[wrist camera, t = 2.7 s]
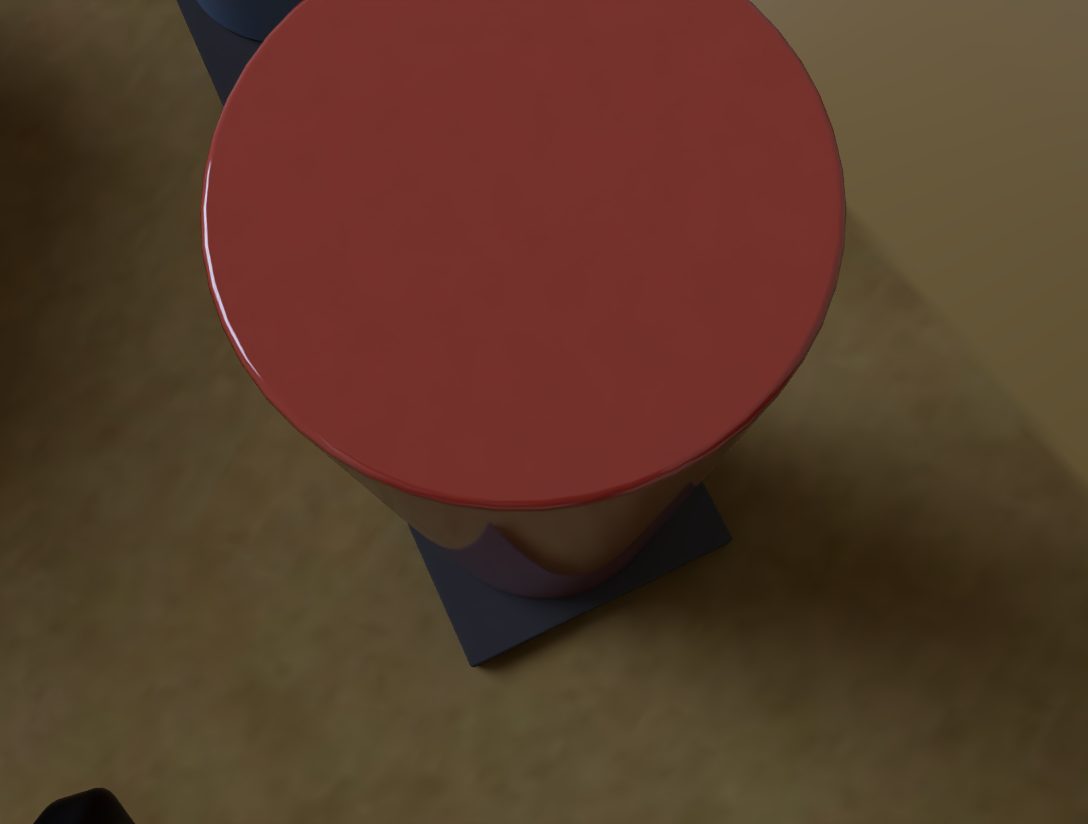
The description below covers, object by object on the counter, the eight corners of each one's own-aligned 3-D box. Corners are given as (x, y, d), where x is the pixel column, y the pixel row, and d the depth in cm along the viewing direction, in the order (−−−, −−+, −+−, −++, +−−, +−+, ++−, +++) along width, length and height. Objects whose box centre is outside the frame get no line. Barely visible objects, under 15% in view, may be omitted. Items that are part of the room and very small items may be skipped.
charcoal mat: (729, 542, 19) (733, 539, 18) (473, 667, 18) (470, 668, 18) (359, -164, 23) (356, -177, 22) (143, -78, 22) (136, -91, 22)
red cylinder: (714, 486, 18) (988, 211, 7) (531, 652, 18) (485, 661, 6) (553, 313, 19) (550, -187, 8) (372, 465, 19) (68, 162, 7)
